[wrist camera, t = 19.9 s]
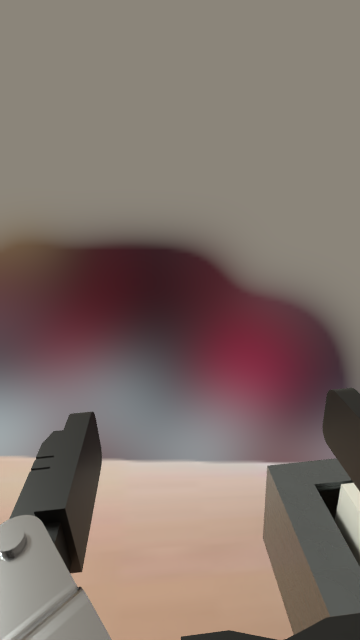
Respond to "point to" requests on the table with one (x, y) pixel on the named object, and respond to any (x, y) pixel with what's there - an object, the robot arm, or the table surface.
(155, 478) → the table surface
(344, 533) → the tall white rectangular block
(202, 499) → the table surface
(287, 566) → the box
